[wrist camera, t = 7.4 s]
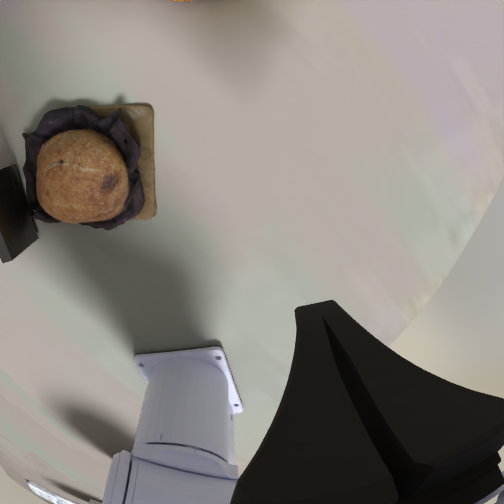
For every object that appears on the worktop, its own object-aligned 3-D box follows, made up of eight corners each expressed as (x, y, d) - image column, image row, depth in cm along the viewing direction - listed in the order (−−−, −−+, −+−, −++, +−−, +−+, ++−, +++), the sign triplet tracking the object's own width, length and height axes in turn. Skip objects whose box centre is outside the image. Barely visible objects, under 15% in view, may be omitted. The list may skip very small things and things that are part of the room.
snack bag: (28, 478, 51) (26, 483, 50) (84, 504, 57) (83, 509, 55) (33, 488, 58) (31, 492, 56) (81, 510, 63) (80, 514, 61)
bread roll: (159, 98, 16) (141, 94, 13) (159, 225, 20) (145, 248, 16) (26, 116, 15) (-5, 121, 12) (35, 224, 19) (9, 243, 16)
